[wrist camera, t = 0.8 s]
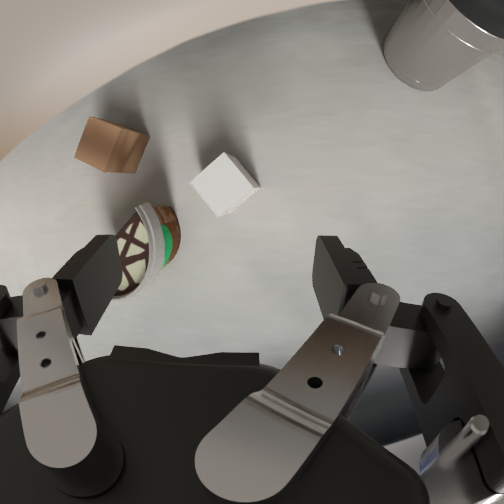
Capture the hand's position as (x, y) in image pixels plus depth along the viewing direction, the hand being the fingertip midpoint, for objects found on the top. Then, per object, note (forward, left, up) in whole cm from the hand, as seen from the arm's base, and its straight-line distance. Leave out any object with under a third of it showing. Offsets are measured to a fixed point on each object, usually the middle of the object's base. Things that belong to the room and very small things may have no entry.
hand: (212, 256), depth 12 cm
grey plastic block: (0, -5, -24) cm, 24 cm away
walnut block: (+5, -19, -24) cm, 31 cm away
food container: (+12, -7, -24) cm, 28 cm away
